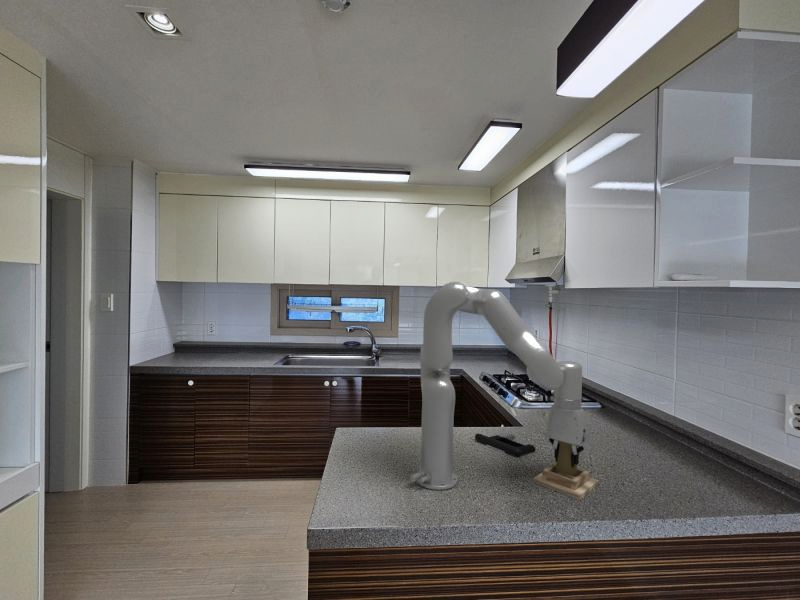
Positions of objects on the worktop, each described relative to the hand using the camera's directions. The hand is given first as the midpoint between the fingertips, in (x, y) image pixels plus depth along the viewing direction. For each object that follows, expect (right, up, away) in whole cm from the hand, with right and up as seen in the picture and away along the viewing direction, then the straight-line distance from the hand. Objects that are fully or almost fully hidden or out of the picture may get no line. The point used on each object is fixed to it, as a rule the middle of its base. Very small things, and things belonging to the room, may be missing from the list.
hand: (566, 463), depth 122 cm
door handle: (-10, -6, +30) cm, 32 cm away
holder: (0, -6, 0) cm, 6 cm away
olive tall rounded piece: (0, -2, 0) cm, 2 cm away
